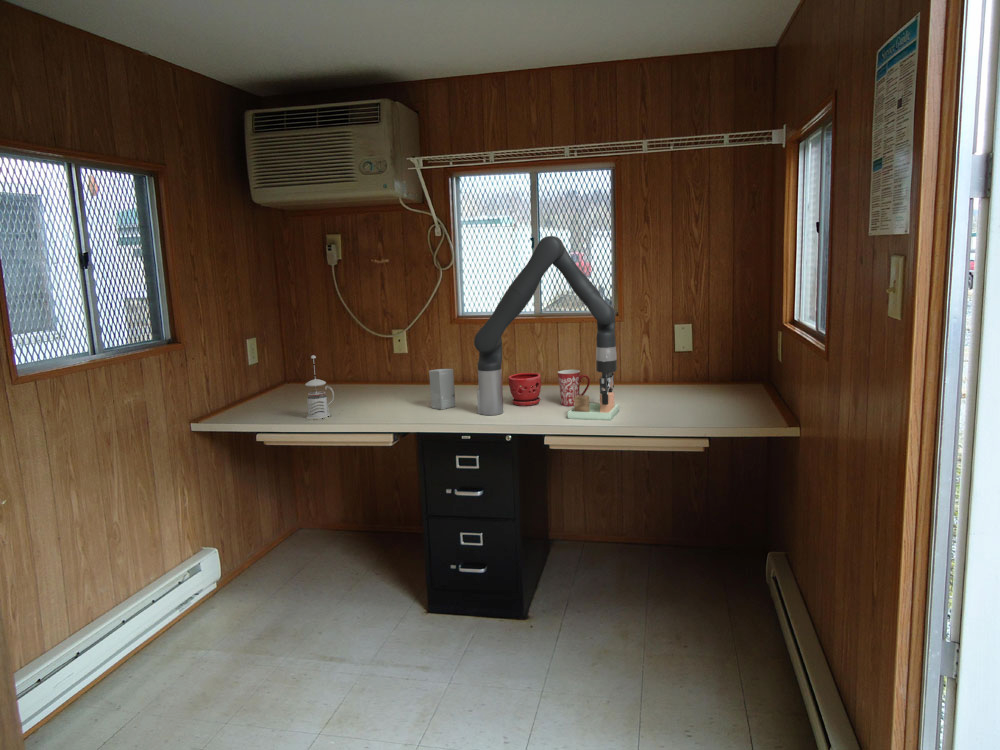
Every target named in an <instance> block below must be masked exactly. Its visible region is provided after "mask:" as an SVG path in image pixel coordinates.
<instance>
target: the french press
mask: <svg viewBox="0 0 1000 750" xmlns="http://www.w3.org/2000/svg"><path fill="white" fill-rule="evenodd" d="M316 358H317V356H316V355H313V354H312V355H311V356H310V359H313V360H312V361H313V363H315V359H316ZM313 369H314V370H313V372H314V373H313V374H316V370H315V369H316V368H315V366H313ZM326 384H327V381H325V380H322V379H318V378H316V377H314V379H311V380H309V381H307V382H306V383H305V387H321V386H324V385H325V386H324V388H325V391H317V388H315V391H311V392H308V393H307V397H306V401H307V412H308V414H307V416H306V418H323V417H327V416H329V415H331V414H330V410H329V405H330V404H331V403H332V402H333V401H334V398H335V392H334V390H333V388H332V387H331V386H329V385H326ZM327 389H329V390H330V391H331V392H332V398H331V401H330V402H328V396H327V395H326V390H327Z"/></svg>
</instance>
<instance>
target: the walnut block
mask: <svg viewBox="0 0 1000 750" xmlns="http://www.w3.org/2000/svg"><path fill="white" fill-rule="evenodd" d="M589 403H590V395H583V396H582V395H581V394H579V395H577V396H576V397H575V398H574V404H575V412H590V409H589Z"/></svg>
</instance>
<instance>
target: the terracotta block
mask: <svg viewBox="0 0 1000 750" xmlns="http://www.w3.org/2000/svg"><path fill="white" fill-rule="evenodd" d="M599 404H600V412H604V413H609V412H610V411H611V409H612V408H613V407H614V406H615V404H616V403H615V392H613V391H612V392H608V405H603V404H602V395H601V394H600V393H599Z"/></svg>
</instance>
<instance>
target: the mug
mask: <svg viewBox="0 0 1000 750" xmlns="http://www.w3.org/2000/svg"><path fill="white" fill-rule="evenodd" d="M557 375H558V385H559V395H560V404H561V406H564V407H574V406H575V404H574V398H575V397H576V396H577V395H582V396H585V394H586V393H587V390H588V389H589V387H590V382H591V381H590V377H589V376H588V375H587V374H581V371H580V370H578V369H565V370H564V369H563V370H560V371H559V370H558V371H557ZM583 378H586V379H587V383H586V384H587V385H586V386H585V388H584V390H583V391H582V393H581V394H580V383H581V381H582V379H583Z"/></svg>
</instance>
